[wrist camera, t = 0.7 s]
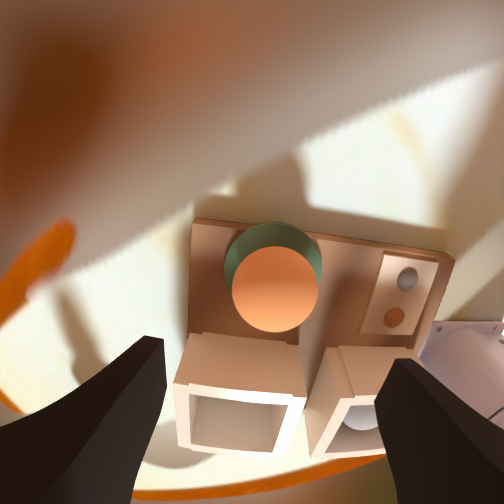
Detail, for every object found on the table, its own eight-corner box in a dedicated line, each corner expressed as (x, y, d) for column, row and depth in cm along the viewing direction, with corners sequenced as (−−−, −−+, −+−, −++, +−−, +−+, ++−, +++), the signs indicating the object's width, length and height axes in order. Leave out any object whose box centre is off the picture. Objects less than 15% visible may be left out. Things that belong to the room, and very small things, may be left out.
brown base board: (448, 244, 16) (461, 252, 15) (385, 396, 21) (390, 409, 20) (197, 207, 16) (191, 213, 15) (191, 386, 21) (187, 400, 19)
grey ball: (392, 362, 18) (411, 401, 15) (373, 400, 20) (386, 438, 16) (340, 361, 18) (354, 405, 14) (325, 400, 20) (333, 442, 16)
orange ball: (317, 240, 15) (335, 272, 11) (303, 308, 17) (313, 353, 13) (239, 230, 15) (232, 260, 11) (231, 300, 16) (224, 344, 13)
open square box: (414, 346, 18) (440, 389, 14) (381, 409, 20) (396, 451, 16) (327, 344, 18) (341, 395, 14) (303, 411, 20) (309, 459, 16)
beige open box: (299, 342, 18) (308, 395, 13) (279, 410, 20) (282, 459, 16) (190, 329, 18) (172, 380, 13) (190, 400, 20) (178, 447, 16)
